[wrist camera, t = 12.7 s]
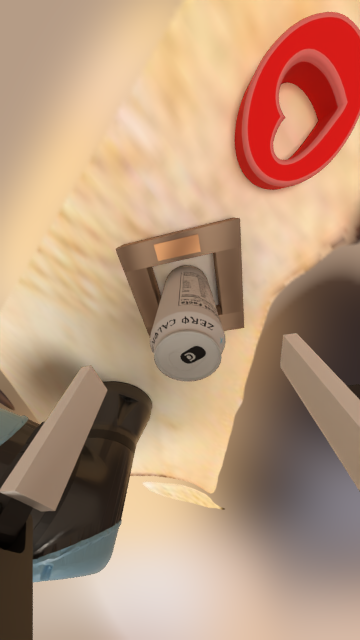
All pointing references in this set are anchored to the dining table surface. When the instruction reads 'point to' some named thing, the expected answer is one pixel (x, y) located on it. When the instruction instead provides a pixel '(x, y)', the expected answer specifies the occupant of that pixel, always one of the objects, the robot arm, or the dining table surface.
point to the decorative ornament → (318, 84)
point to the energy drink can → (187, 327)
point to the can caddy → (184, 245)
